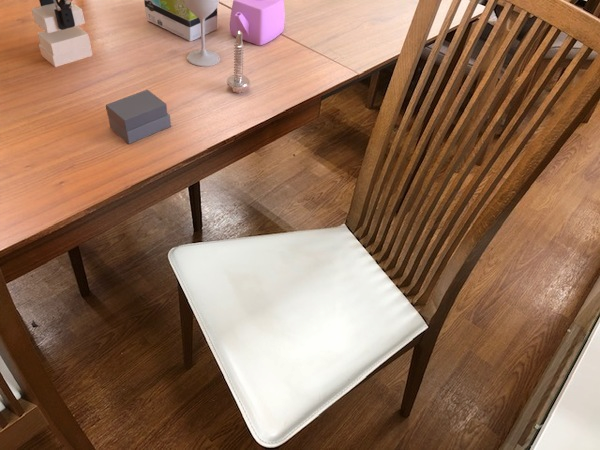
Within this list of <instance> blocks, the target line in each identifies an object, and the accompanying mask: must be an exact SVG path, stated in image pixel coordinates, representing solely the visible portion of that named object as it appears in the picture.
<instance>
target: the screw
mask: <svg viewBox="0 0 600 450" xmlns="http://www.w3.org/2000/svg"><path fill="white" fill-rule="evenodd" d="M244 48H245V47H244V43H243V40H242V32H241V31H240V30H239V31H236V37H235V41H234V47H233V49H234V50H233V52H234V53H233V58H234V59H233V63H234V64H233V71H234V72H233V74H231V75H230V76H228V77H227V78H226V84H227V86H229V87H231V89H232V92H233V93H236V94H241V93H243V92H245V91H246V89H245V88H247V87H249V86H250V84H251V80H250V78H248V77H247V76H246V75H244V74H243V73H244Z"/></svg>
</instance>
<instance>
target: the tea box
mask: <svg viewBox="0 0 600 450" xmlns="http://www.w3.org/2000/svg"><path fill="white" fill-rule="evenodd" d="M143 2H144V9H145V17H146V21H147V22H150V23H152V24H154V25H156V26H159V27H160V28H163V29H164V30H167V31H168V32H171V33H172V34H175V35H176V36H178V37H180V38H182V39H185V40H186V41H187V42H193V41H195V40H197V39H201V23H200V19H199V18H198V17H197V16H196V15H195V14H193V13H192V12H191V11H190V10H189V9H188V8H187V6H186V4H185V2H184V0H143ZM217 29H218V7H217V8H216V9H215V10H214V12H213V13H211V14H210V15H209V16H208V17H206V18H205V21H204V36H206V35H208V34H211V33H212V32H214V31H216V30H217Z"/></svg>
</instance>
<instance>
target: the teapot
mask: <svg viewBox="0 0 600 450" xmlns="http://www.w3.org/2000/svg"><path fill="white" fill-rule="evenodd" d="M285 15H286V14H285V2H284V0H233V1H232V5H231V10H230V18H229V31H230V34H231V36H233V37H235V38H236V31H239V30H240V31H241V32H242V41H245V42H248V43H251V44H253V45H257V46H264V45H265V44H268V43H270V42H271V41H273V40H274V39H276V38H277V37H279V35H281V34H282V33H283V31H284V28H285V19H286V16H285Z"/></svg>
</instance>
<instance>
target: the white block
mask: <svg viewBox="0 0 600 450" xmlns="http://www.w3.org/2000/svg"><path fill="white" fill-rule="evenodd" d="M71 5H72V8H71V9H72V14H73V18H74V22H75V26H78V27H79V26H81V25H85V24H86V22H85V17H84V12H83V11H84V10H83V9H82V8H81V7H79V6H78V5H76V4H75V3H74V2H72V1H71ZM55 9H56V7H55V4H54V3H53V4H49V5H45V6H41V5H40V6H36V7H32V8H31V9H30V10H31V14H32V17H33V20H34V24H35V25H37V26H38V27H40V28H41V30H43V31H46V32H47V33H51V32H55V31H59V30H61V29H59V27H58V23H57V19H56V15H55V11H54V10H55Z"/></svg>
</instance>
